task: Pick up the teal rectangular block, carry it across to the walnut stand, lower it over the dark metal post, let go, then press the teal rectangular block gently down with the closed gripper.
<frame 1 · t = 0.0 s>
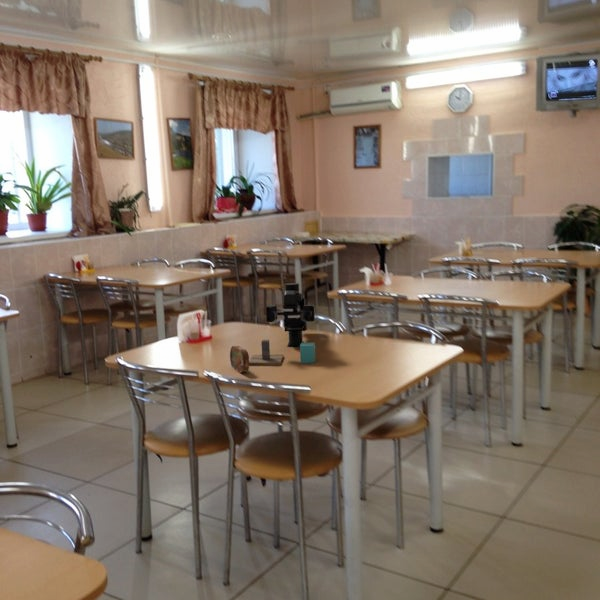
hand: (288, 317, 263), 17 cm above the table, tool horizontal, fingers open, 9 cm apart
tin: (240, 370, 255), on the table
teal rectangular block: (308, 361, 263), on the table
post stand: (266, 361, 266), on the table
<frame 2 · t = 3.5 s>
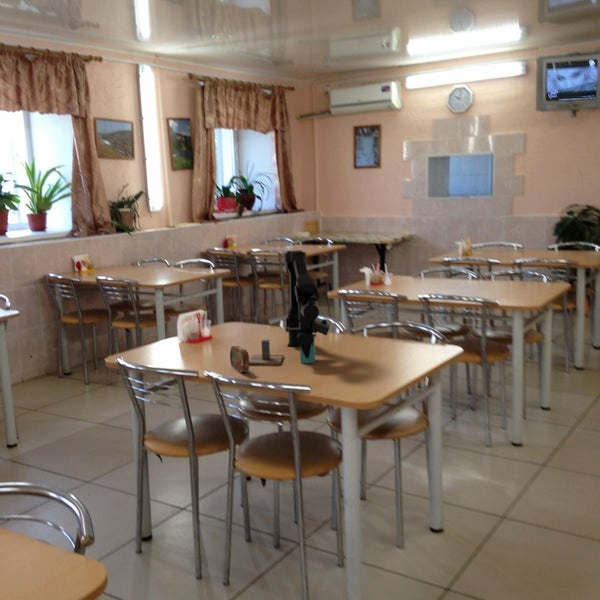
hand: (307, 356, 263), 2 cm above the table, tool pointing down, fingers closed on teal rectangular block, 5 cm apart
teal rectangular block: (308, 361, 263), on the table, touching gripper
everything else where it was.
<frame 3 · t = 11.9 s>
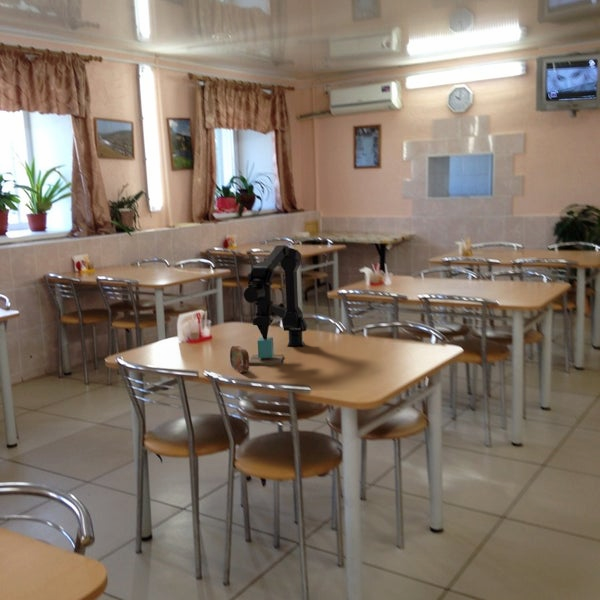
hand: (265, 339, 264), 9 cm above the table, tool pointing down, fingers closed, pressing on teal rectangular block
teal rectangular block: (266, 356, 266), point 2 cm above the table, touching gripper, post stand
everything else where it was.
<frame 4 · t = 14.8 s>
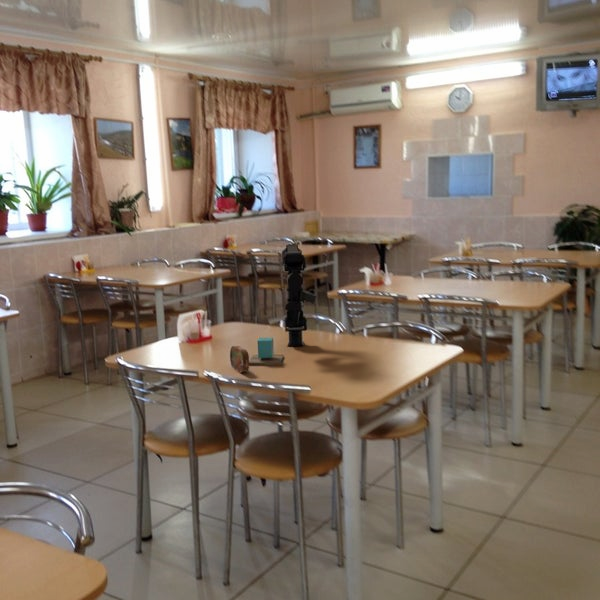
hand: (296, 324, 273), 12 cm above the table, tool pointing down, fingers closed
teal rectangular block: (266, 356, 266), point 2 cm above the table, touching post stand
everything else where it was.
at the end: teal rectangular block 0.0 cm from the post stand (horizontally); teal rectangular block point 2.0 cm above the table; the gripper is holding nothing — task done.
